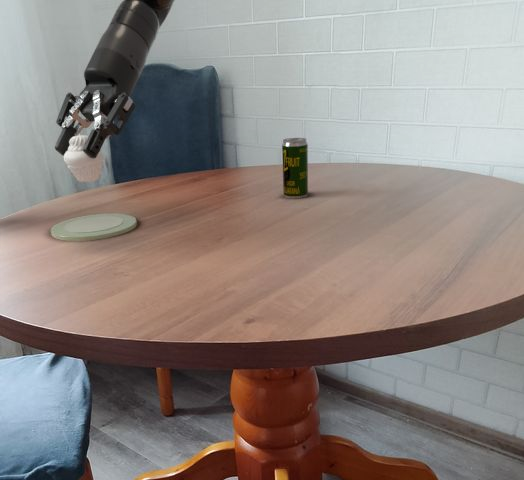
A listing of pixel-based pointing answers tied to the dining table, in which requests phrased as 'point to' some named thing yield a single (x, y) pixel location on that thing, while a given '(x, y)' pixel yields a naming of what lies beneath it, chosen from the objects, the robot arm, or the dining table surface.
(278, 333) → the dining table surface
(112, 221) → the plate
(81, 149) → the muffin
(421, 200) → the dining table surface
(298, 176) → the green drink can
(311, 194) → the dining table surface
